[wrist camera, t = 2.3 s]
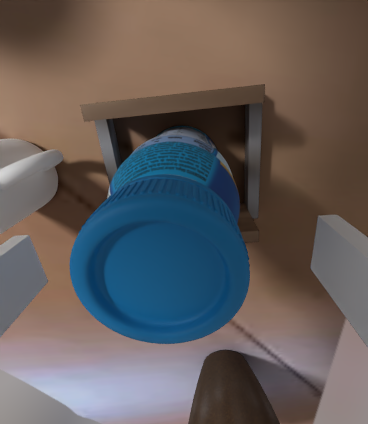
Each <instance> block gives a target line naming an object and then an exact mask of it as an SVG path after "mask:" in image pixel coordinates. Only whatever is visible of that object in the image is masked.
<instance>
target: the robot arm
mask: <svg viewBox="0 0 368 424" xmlns="http://www.w3.org/2000/svg"><path fill="white" fill-rule="evenodd" d="M310 269H311V270H312V271H313V273H314V274H315V275H316V277H317V278H318V280H319V281H320V282H321V284H322V285H323V286H324V288H325V289H326V291H327V292H328V293H329V295H330V296H331V298H332V299H333V300H334V302H335V303H336V304H337V306H338V307H339V309H340V310H341V311H342V313H343V314H344V315H345V317H346V318H347V319H348V321H349V322H350V324H351V325H352V326H353V328H354V329H355V330H356V332H357V333H358V335H359V336H360V337H361V339H362V340H363V341H364V343H365V344H366V346H367V347H368V237H367V236H365V235H364V234H363V233H361V232H360V231H359V230H357V229H356V228H355V227H353V226H352V225H350V224H349V223H348V222H346V221H345V220H344V219H342V218H341V217H340V216H338V215H322V216H318V220H317V227H316V234H315V241H314V248H313V254H312V261H311V268H310ZM47 282H48V280H47V277H46V275H45V272H44V270H43V268H42V265H41V263H40V260H39V258H38V256H37V253H36V251H35V248H34V246H33V244H32V241H31V239H30V236H29V235H23V236H13V237H12V238H10V239H9V240H7V241H6V242H5V243H3V244H2V245H0V337H1V336H2V335H3V333H4V332H5V331H6V330H7V329H8V328H9V326H10V325H11V324H12V323H13V322H14V321H15V319H16V318H17V317H18V316H19V315H20V314H21V312H22V311H23V310H24V309H25V308H26V307H27V306H28V304H29V303H30V302H31V301H32V300H33V299H34V297H35V296H36V295H37V294H38V293H39V292H40V290H41V289H42V288H43V287H44V286H45V285H46V283H47Z"/></svg>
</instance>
